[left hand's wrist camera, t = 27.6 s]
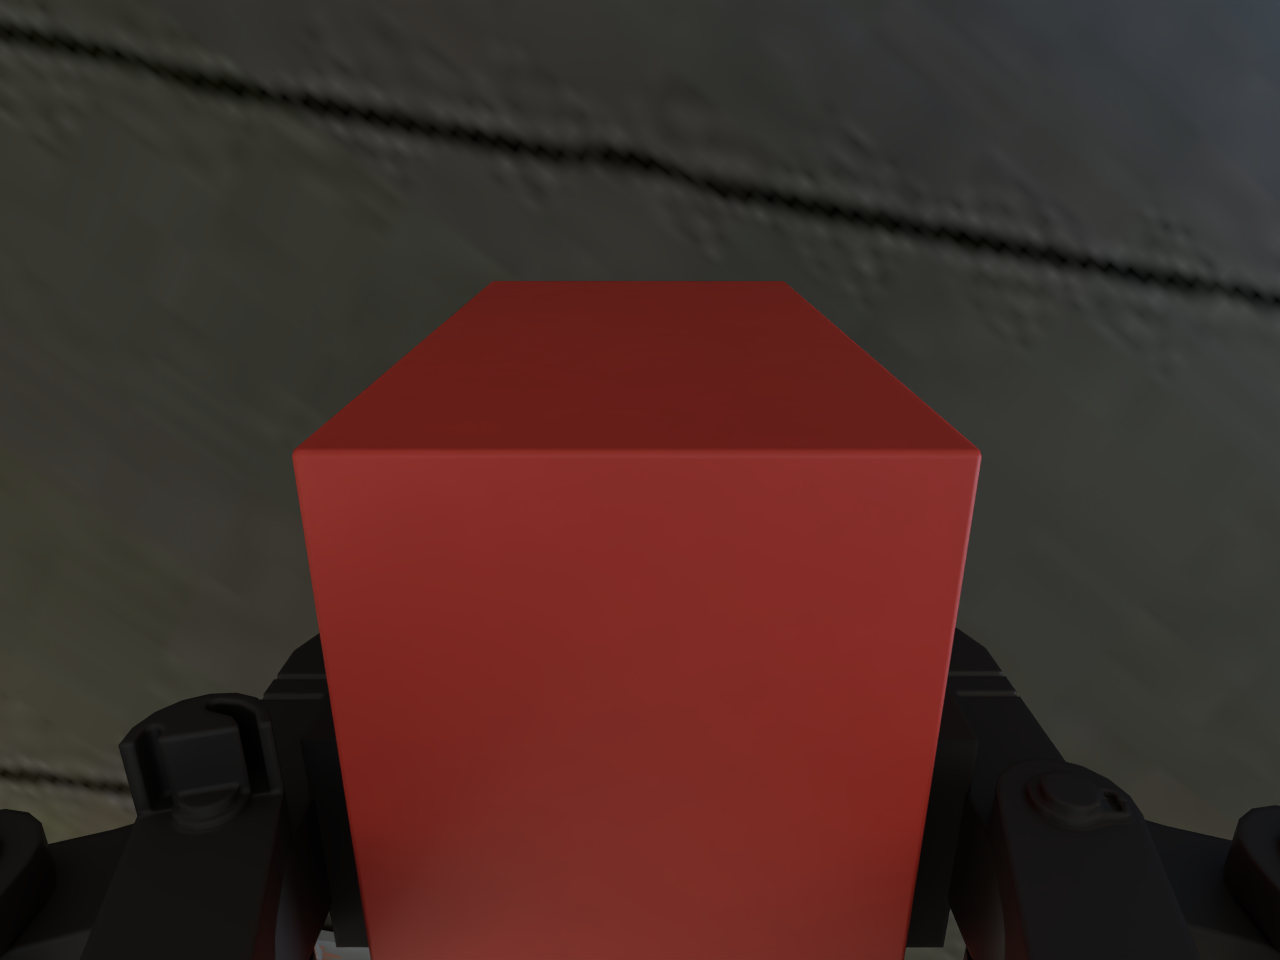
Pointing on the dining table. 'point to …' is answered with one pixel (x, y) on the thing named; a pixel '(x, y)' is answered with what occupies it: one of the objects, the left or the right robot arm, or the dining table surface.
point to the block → (637, 627)
